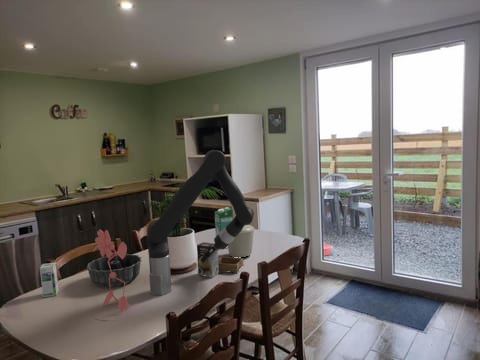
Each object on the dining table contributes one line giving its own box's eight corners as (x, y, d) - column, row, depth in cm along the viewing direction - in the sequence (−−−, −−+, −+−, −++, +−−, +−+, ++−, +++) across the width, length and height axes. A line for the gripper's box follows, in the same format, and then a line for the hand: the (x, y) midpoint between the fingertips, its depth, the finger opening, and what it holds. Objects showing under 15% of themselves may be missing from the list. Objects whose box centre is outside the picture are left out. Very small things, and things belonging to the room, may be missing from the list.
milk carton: (216, 245, 237) (214, 208, 234) (228, 243, 241) (227, 206, 238) (221, 249, 229) (219, 210, 226) (234, 246, 233) (232, 208, 230)
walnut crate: (237, 273, 187) (236, 265, 186) (214, 271, 191) (213, 263, 191) (243, 266, 197) (243, 258, 196) (221, 264, 201) (221, 256, 200)
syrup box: (42, 297, 167) (39, 267, 165) (45, 292, 172) (42, 263, 170) (56, 296, 168) (53, 265, 166) (58, 291, 174) (55, 261, 172)
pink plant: (109, 296, 165) (101, 221, 160) (143, 312, 149) (135, 229, 144) (76, 310, 153) (66, 230, 148) (109, 329, 137) (100, 239, 132)
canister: (256, 260, 206) (254, 224, 203) (224, 261, 206) (222, 225, 204) (255, 250, 224) (254, 217, 221) (226, 251, 224) (224, 218, 222)
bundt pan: (98, 272, 196) (96, 254, 195) (147, 269, 198) (145, 251, 197) (80, 293, 170) (78, 272, 169) (137, 289, 172) (135, 269, 171)
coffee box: (197, 275, 186) (196, 245, 184) (204, 271, 192) (203, 241, 190) (212, 278, 182) (211, 247, 180) (219, 273, 188) (217, 243, 186)
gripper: (225, 228, 189) (205, 249, 194) (214, 236, 175) (193, 257, 180) (235, 239, 187) (215, 259, 193) (225, 247, 174) (204, 268, 179)
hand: (205, 258), depth 186 cm, fingers closed on coffee box, 7 cm apart
